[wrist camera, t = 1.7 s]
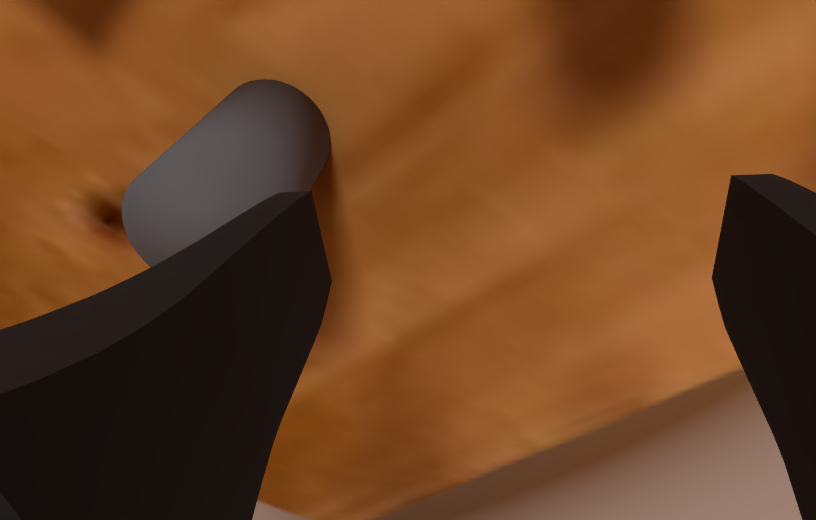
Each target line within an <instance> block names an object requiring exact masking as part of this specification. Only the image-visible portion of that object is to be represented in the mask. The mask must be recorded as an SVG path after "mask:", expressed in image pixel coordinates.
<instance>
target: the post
mask: <svg viewBox="0 0 816 520" xmlns="http://www.w3.org/2000/svg"><path fill="white" fill-rule="evenodd" d="M330 145H331V143H330V133H329V129H328V126H327V123H326V121H325V119H324V116H323V115H322V113H321V111H320V110H319V108H318V107H317V106H316V105H315V103H314V102H313V101H312V100H311V99H310V98H309V97H308V96H306V95H305V94H304V93H303V92H301V91H300V90H298V89H296V88H295V87H293V86H291V85H289V84H286V83H283V82H280V81H275V80H266V79H264V80H255V81H250V82H247V83H245V84H243V85H241V86H239V87H238V88H236V89H235V90H234V91H233V92H231V93H230V94H229V95H228V96H227V97H226V98H225V99H224V100H222V101H221V102H220V103H219V104H218V105H217V106H216V107H215V108H213V109H212V110H211V111H210V112H209V113H208V114H207V115H206V116H204V117H203V118H202V119H201V120H200V121H199V122H198V123H197V124H196V125H194V126H193V127H192V128H191V129H190V130H189V131H188V132H187V133H185V134H184V135H183V136H182V137H181V138H180V139H179V140H178V141H176V142H175V143H174V144H173V145H172V146H171V147H170V148H169V149H167V150H166V151H165V152H164V153H163V154H162V155H161V156H160V157H159V158H157V159H156V160H155V161H154V162H153V163H152V164H151V165H150V166H148V167H147V168H146V169H145V170H144V171H143V172H142V173H141V174H139V175H138V176H137V177H136V178H135V179H134V180H133V181H132V183H131V184H130V185H129V187H128V188H127V190H126V193H125V195H124V198H123V203H122V218H123V224H124V227H125V231H126V233H127V236H128V238H129V240H130V242H131V244H132V245H133V247H134V248H135V250H136V251H137V253H138V254H139V255H140V257H141V258H142V259H143V260H144V261H145V262H146V263H147V264H148V265H149V266H150V267H153V266H155V265H157V264H158V263H160V262H162V261H164V260H165V259H167V258H169V257H171V256H172V255H174V254H176V253H178V252H179V251H181V250H183V249H184V248H186V247H188V246H190V245H191V244H193V243H195V242H197V241H198V240H200V239H202V238H203V237H205V236H207V235H208V234H210V233H211V232H213V231H215V230H216V229H218V228H219V227H221V226H223V225H224V224H226V223H227V222H229V221H231V220H232V219H234V218H235V217H237V216H239V215H240V214H242V213H243V212H245V211H247V210H248V209H250V208H252V207H253V206H255V205H257V204H258V203H260V202H262V201H263V200H265V199H267V198H269V197H271V196H273V195H275V194H278V193H280V192H302V191H310V190H311V188H312V187H313V185H314V183H315V181H316V180H317V178H318V176H319V175H320V173H321V171H322V170H323V168H324V166H325V164H326V162H327V160H328V157H329V153H330Z"/></svg>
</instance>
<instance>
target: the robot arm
mask: <svg viewBox="0 0 816 520" xmlns="http://www.w3.org/2000/svg"><path fill="white" fill-rule="evenodd" d="M712 280H713V284H714V288H715V292H716V296H717V300H718V304H719V308H720V311H721V315H722V318H723V322H724V325H725V328H726V330H727V333H728V335H729V337H730V340H731V342H732V344H733V346H734V349H735V351H736V353H737V356H738V358H739V360H740V362H741V365H742V367H743V369H744V371H745V373H746V376H747V378H748V380H749V382H750V384H751V386H752V389H753V391H754V393H755V395H756V397H757V400H758V402H759V404H760V406H761V408H762V411H763V413H764V415H765V417H766V420H767V422H768V424H769V426H770V428H771V431H772V433H773V435H774V437H775V440H776V443H777V445H778V447H779V450H780V452H781V455H782V458H783V460H784V463H785V466H786V469H787V472H788V475H789V478H790V482H791V485H792V488H793V491H794V494H795V497H796V500H797V504H798V507H799V510H800V513H801V516H802V519H803V520H816V193H815V192H813V191H811V190H809V189H807V188H804V187H802V186H800V185H798V184H796V183H794V182H792V181H789V180H787V179H785V178H782V177H780V176H777V175H774V174H759V175H732V176H731V180H730V185H729V190H728V195H727V201H726V206H725V211H724V217H723V222H722V227H721V232H720V238H719V243H718V248H717V254H716V259H715V264H714V269H713V275H712ZM331 282H332V280H331V276H330V271H329V267H328V263H327V258H326V254H325V249H324V245H323V241H322V236H321V232H320V227H319V223H318V219H317V214H316V210H315V205H314V201H313V197H312V192H311V191H302V192H280V193H278V194H275V195H273V196H271V197H269V198H267V199H265V200H263V201H262V202H260V203H258V204H257V205H255V206H253V207H252V208H250V209H248V210H247V211H245V212H243V213H242V214H240V215H239V216H237V217H235V218H234V219H232V220H231V221H229V222H227V223H226V224H224V225H223V226H221V227H219V228H218V229H216V230H215V231H213V232H211V233H210V234H208V235H207V236H205V237H203V238H202V239H200V240H198V241H197V242H195V243H193V244H191V245H190V246H188V247H186V248H184V249H183V250H181V251H179V252H178V253H176V254H174V255H172V256H171V257H169V258H167V259H165V260H164V261H162V262H160V263H158V264H157V265H155V266H153V267H151V268H149V269H147V270H145V271H144V272H142V273H140V274H138V275H136V276H134V277H132V278H130V279H128V280H125V281H123V282H121V283H119V284H117V285H115V286H113V287H110V288H108V289H106V290H104V291H102V292H100V293H97V294H95V295H93V296H90V297H88V298H85V299H83V300H80V301H78V302H75V303H73V304H70V305H67V306H65V307H62V308H60V309H57V310H55V311H52V312H50V313H47V314H44V315H42V316H39V317H37V318H34V319H31V320H28V321H26V322H23V323H20V324H17V325H14V326H11V327H8V328H5V329H2V330H0V520H252V517H253V514H254V510H255V506H256V502H257V498H258V494H259V491H260V487H261V484H262V480H263V477H264V473H265V470H266V466H267V463H268V459H269V456H270V453H271V449H272V446H273V442H274V439H275V437H276V434H277V431H278V428H279V426H280V423H281V420H282V418H283V415H284V413H285V411H286V408H287V406H288V403H289V401H290V399H291V396H292V394H293V392H294V389H295V387H296V384H297V382H298V380H299V377H300V375H301V373H302V370H303V368H304V365H305V363H306V361H307V358H308V356H309V353H310V351H311V348H312V346H313V344H314V341H315V339H316V336H317V334H318V331H319V329H320V326H321V323H322V319H323V316H324V312H325V308H326V304H327V300H328V295H329V291H330V286H331Z"/></svg>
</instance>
